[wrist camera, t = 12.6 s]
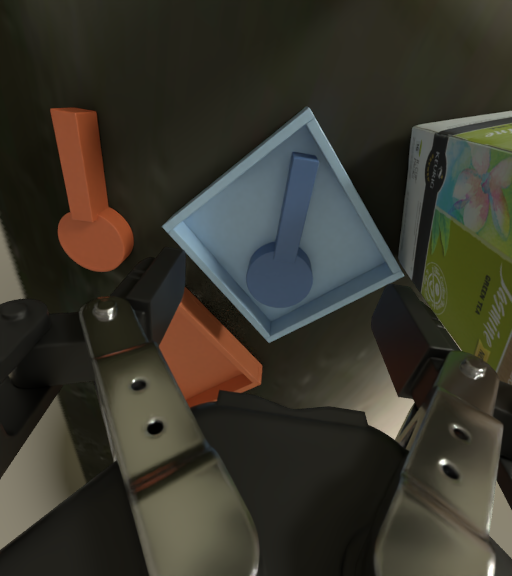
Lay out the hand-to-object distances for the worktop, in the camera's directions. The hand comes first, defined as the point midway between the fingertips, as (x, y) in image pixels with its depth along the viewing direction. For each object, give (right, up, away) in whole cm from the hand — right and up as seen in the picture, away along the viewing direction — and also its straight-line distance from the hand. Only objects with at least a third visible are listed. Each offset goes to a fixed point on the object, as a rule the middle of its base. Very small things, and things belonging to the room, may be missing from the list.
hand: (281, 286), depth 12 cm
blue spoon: (+1, +4, +11) cm, 12 cm away
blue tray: (+1, +4, +12) cm, 12 cm away
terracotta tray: (-9, -7, +19) cm, 22 cm away
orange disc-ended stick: (-13, +7, +11) cm, 19 cm away
